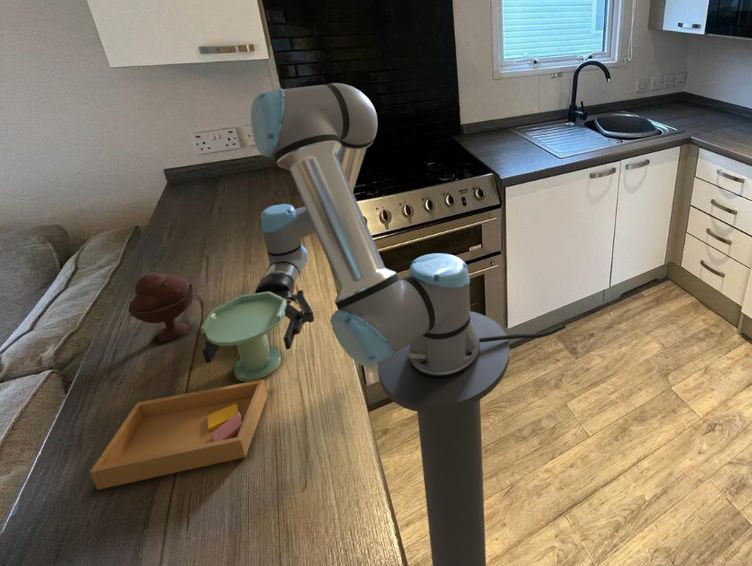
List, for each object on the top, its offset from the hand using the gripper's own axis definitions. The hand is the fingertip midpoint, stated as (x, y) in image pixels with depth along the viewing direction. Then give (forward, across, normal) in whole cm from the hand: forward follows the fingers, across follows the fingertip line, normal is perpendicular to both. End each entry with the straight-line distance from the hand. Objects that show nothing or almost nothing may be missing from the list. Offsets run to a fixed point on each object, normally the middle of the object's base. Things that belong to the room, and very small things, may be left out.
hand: (247, 350), depth 84 cm
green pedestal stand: (-3, 0, -6) cm, 7 cm away
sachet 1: (+10, +2, -5) cm, 11 cm away
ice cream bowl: (-18, +21, -7) cm, 29 cm away
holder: (+12, +6, -6) cm, 15 cm away
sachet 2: (+14, 0, -5) cm, 14 cm away
